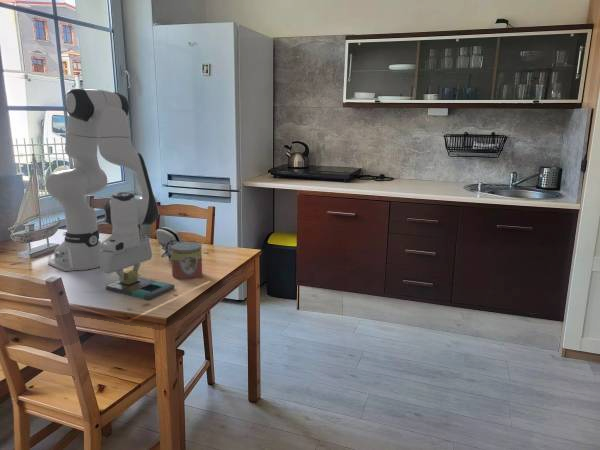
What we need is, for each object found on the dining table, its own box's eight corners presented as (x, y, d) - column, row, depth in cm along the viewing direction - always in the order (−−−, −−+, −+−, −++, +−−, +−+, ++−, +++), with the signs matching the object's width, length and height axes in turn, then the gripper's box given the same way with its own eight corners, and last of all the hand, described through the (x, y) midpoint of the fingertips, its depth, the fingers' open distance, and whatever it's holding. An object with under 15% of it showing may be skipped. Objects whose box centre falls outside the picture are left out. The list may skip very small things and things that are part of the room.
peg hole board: (106, 290, 160) (105, 285, 160) (132, 280, 170) (132, 275, 170) (149, 301, 151) (149, 296, 151) (174, 290, 162) (174, 284, 161)
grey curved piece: (187, 247, 214) (180, 229, 210) (179, 252, 211) (172, 234, 207) (167, 240, 225) (160, 223, 220) (159, 245, 222) (152, 227, 217)
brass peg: (120, 287, 162) (119, 270, 161) (129, 283, 165) (128, 267, 164) (129, 289, 160) (128, 272, 159) (137, 285, 164) (136, 269, 162)
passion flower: (177, 275, 193) (160, 256, 186) (169, 263, 201) (153, 245, 194) (198, 258, 195) (183, 239, 188) (190, 247, 204) (175, 229, 196)
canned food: (174, 282, 169) (173, 251, 167) (170, 273, 179) (168, 243, 177) (205, 278, 174) (204, 248, 171) (199, 269, 184) (198, 240, 181)
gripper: (142, 232, 169) (144, 268, 173) (95, 245, 152) (98, 285, 155) (155, 234, 167) (156, 271, 170) (109, 248, 149) (112, 288, 152)
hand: (128, 278), depth 162 cm, fingers closed on brass peg, 4 cm apart
